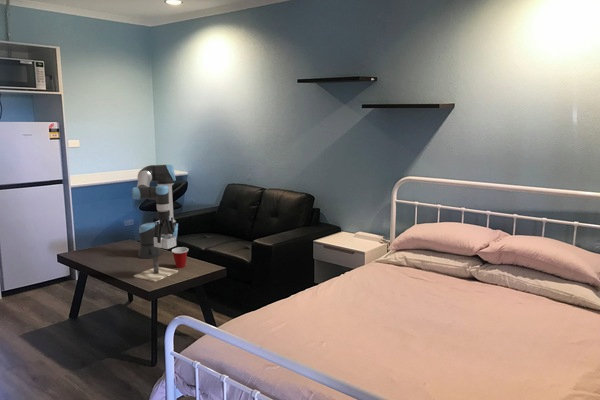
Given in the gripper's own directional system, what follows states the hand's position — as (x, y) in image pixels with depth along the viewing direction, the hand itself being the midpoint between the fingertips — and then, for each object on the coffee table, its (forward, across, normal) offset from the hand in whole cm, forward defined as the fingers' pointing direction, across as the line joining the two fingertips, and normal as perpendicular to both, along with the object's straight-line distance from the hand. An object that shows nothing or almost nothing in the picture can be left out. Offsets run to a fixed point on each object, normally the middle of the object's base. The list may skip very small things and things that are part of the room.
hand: (165, 245), depth 296 cm
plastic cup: (+19, +16, +2) cm, 25 cm away
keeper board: (+19, -3, +6) cm, 20 cm away
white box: (0, 0, 0) cm, 0 cm away
